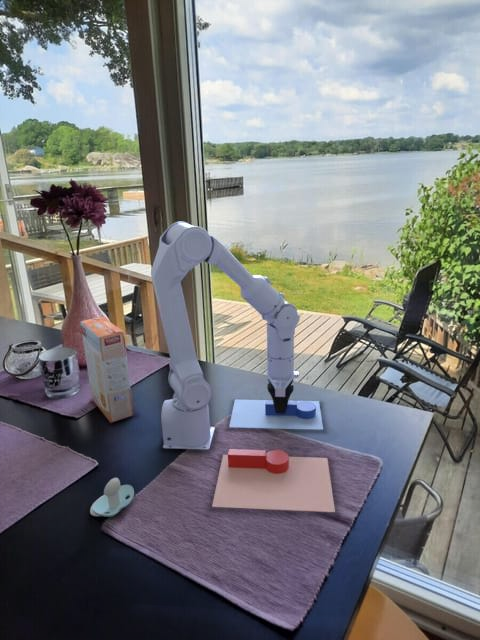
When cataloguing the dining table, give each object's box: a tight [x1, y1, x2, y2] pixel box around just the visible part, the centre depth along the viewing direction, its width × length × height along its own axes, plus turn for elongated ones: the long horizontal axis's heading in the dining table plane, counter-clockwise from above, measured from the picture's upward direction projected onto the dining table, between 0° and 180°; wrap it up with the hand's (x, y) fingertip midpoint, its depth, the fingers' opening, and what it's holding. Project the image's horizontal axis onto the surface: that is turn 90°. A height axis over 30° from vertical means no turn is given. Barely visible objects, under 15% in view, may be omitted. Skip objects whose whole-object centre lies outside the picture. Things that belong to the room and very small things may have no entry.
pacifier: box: [89, 477, 135, 518], centre depth 73 cm, size 7×6×6 cm
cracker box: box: [80, 316, 134, 424], centre depth 102 cm, size 14×6×21 cm, turn 34°
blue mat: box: [228, 399, 324, 431], centre depth 99 cm, size 20×12×1 cm, turn 85°
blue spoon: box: [265, 399, 316, 419], centre depth 98 cm, size 11×4×3 cm, turn 85°
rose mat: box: [211, 454, 336, 513], centre depth 78 cm, size 20×14×1 cm
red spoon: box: [227, 448, 290, 474], centre depth 82 cm, size 11×4×3 cm, turn 85°
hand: (280, 409), depth 99 cm, fingers closed on blue spoon, 2 cm apart
